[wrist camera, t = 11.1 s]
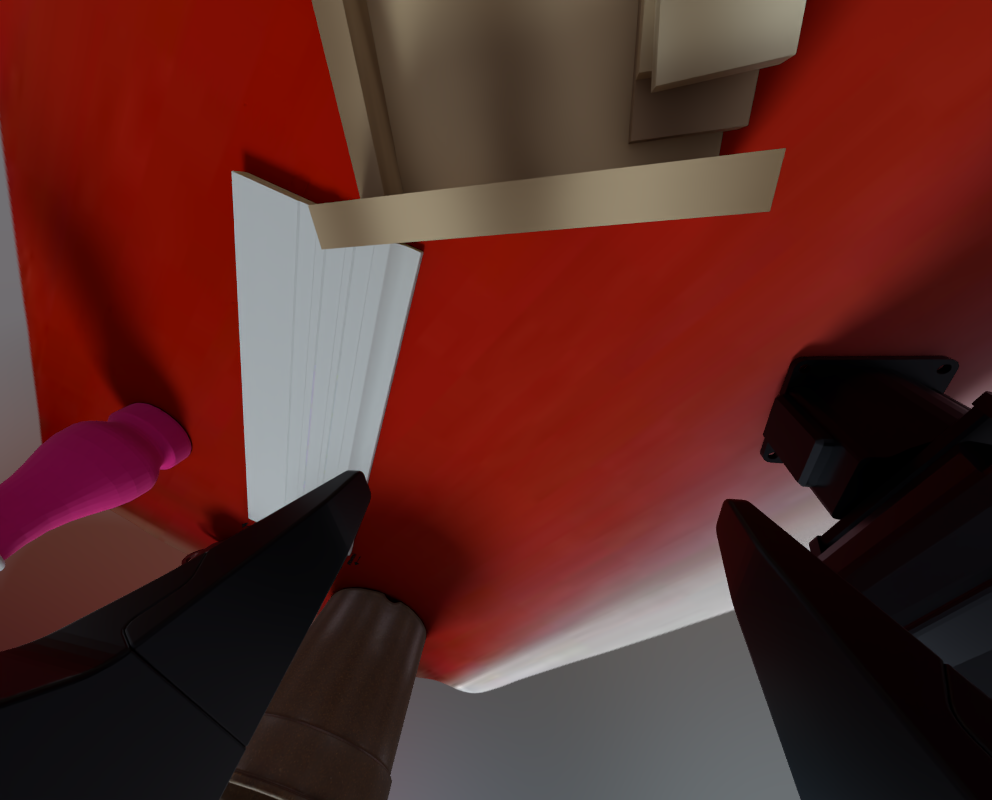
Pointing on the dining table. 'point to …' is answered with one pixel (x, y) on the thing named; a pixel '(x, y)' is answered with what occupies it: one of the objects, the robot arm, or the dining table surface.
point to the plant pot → (337, 706)
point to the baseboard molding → (311, 344)
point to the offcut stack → (705, 62)
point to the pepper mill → (88, 472)
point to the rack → (508, 124)
